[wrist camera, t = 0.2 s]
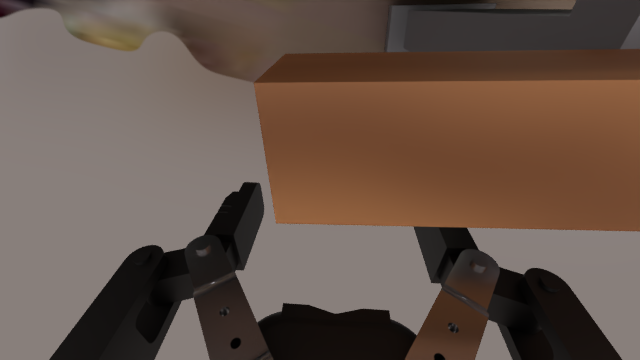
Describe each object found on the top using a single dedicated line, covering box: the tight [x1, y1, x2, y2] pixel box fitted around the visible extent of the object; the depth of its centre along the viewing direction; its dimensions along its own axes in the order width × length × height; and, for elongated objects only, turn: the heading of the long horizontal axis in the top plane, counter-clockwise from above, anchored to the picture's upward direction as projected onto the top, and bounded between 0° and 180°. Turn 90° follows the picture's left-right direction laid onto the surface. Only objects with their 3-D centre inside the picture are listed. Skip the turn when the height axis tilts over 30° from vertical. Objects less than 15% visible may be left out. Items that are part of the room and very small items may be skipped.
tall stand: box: [385, 0, 640, 52], centre depth 20 cm, size 5×12×32 cm, turn 91°
